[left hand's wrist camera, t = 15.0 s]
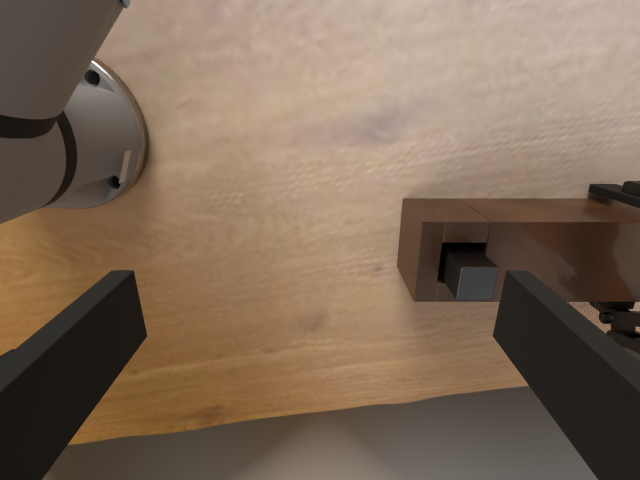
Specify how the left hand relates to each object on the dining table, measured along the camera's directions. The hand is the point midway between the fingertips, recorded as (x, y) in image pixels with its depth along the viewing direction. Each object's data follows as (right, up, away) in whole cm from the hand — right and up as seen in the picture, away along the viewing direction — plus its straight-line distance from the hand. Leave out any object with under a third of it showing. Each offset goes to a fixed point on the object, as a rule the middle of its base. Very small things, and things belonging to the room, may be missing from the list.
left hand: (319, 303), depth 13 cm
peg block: (+21, +3, +27) cm, 35 cm away
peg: (+13, +3, +27) cm, 30 cm away
